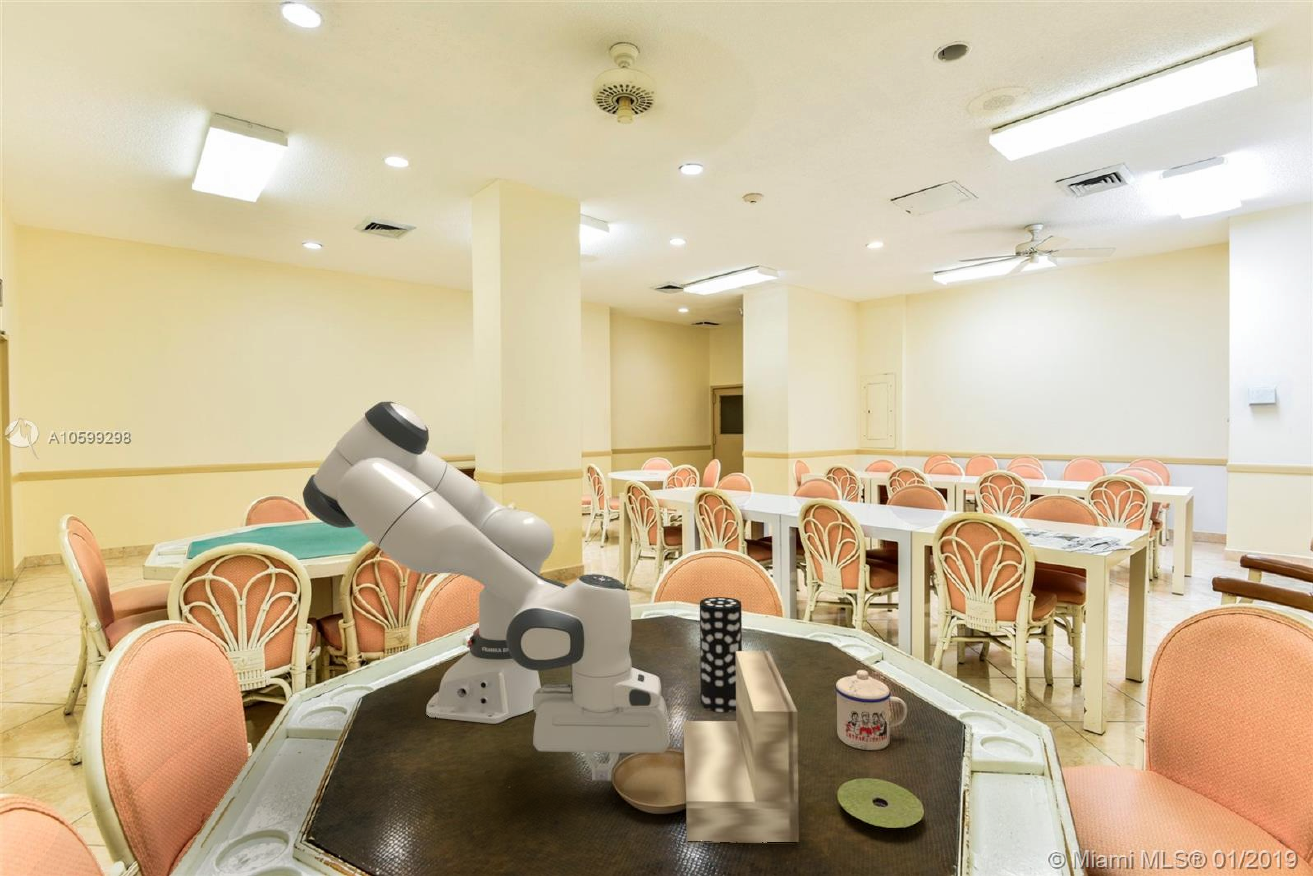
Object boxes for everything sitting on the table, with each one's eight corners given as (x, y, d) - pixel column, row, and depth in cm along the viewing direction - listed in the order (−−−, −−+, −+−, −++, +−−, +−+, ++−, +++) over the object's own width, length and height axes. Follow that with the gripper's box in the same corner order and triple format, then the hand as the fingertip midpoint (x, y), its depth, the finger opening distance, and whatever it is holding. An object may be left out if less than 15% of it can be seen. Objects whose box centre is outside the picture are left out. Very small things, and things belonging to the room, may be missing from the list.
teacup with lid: (842, 751, 98) (841, 681, 98) (831, 725, 107) (830, 661, 107) (916, 753, 97) (915, 683, 97) (898, 727, 106) (897, 663, 106)
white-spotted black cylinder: (741, 714, 112) (740, 609, 112) (698, 710, 114) (697, 607, 114) (743, 695, 120) (742, 598, 120) (703, 692, 122) (702, 596, 122)
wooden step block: (686, 842, 76) (685, 711, 76) (683, 752, 98) (682, 651, 98) (798, 843, 76) (797, 711, 76) (770, 753, 98) (769, 651, 98)
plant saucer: (732, 800, 85) (731, 782, 85) (645, 838, 77) (645, 818, 77) (674, 755, 97) (674, 739, 97) (594, 784, 89) (594, 767, 89)
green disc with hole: (852, 842, 76) (852, 827, 76) (827, 791, 87) (827, 777, 87) (939, 841, 76) (939, 826, 76) (903, 790, 87) (902, 777, 87)
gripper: (527, 693, 85) (527, 789, 84) (669, 695, 84) (669, 792, 84) (538, 676, 91) (538, 765, 91) (669, 677, 90) (670, 768, 90)
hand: (602, 778), depth 87 cm, fingers closed
